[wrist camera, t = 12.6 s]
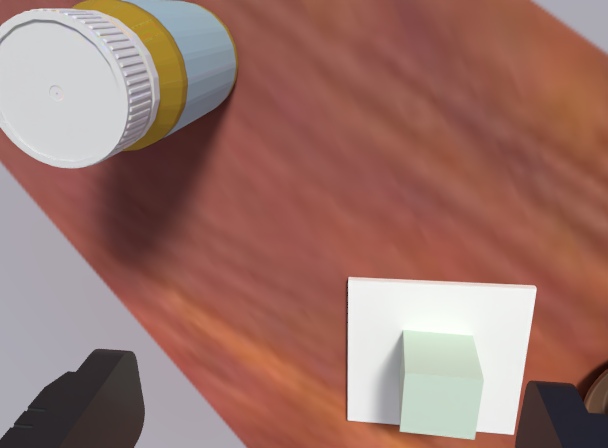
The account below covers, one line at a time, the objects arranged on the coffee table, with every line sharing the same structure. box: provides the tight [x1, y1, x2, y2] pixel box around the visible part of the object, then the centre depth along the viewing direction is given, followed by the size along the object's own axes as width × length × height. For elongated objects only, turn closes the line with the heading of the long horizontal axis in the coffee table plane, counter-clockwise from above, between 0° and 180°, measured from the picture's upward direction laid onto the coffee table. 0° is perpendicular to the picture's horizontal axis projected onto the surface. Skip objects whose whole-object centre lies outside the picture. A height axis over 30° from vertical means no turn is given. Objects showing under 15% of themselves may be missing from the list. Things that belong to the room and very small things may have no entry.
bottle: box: [0, 0, 238, 168], centre depth 27 cm, size 7×7×15 cm
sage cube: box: [399, 330, 484, 439], centre depth 37 cm, size 5×5×5 cm
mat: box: [348, 277, 537, 435], centre depth 40 cm, size 13×13×1 cm
